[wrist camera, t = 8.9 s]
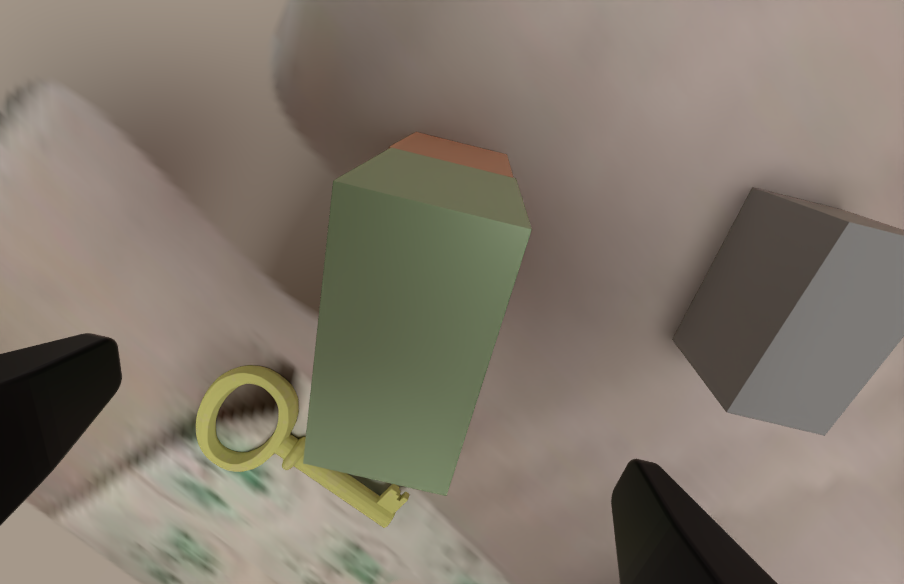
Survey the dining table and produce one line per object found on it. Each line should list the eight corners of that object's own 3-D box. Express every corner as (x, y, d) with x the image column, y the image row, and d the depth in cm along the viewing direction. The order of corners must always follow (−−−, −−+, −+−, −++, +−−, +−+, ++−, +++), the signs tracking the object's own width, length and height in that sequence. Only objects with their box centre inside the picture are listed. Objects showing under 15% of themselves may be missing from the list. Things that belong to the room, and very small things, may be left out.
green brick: (458, 375, 15) (446, 496, 11) (358, 352, 15) (303, 463, 11) (515, 178, 12) (531, 229, 8) (391, 147, 12) (333, 180, 8)
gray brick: (747, 356, 20) (824, 435, 15) (671, 338, 20) (726, 412, 15) (840, 208, 17) (970, 252, 12) (751, 186, 17) (849, 222, 12)
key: (401, 503, 26) (394, 536, 24) (200, 441, 25) (176, 470, 23) (438, 415, 23) (433, 444, 21) (210, 342, 22) (183, 365, 20)
